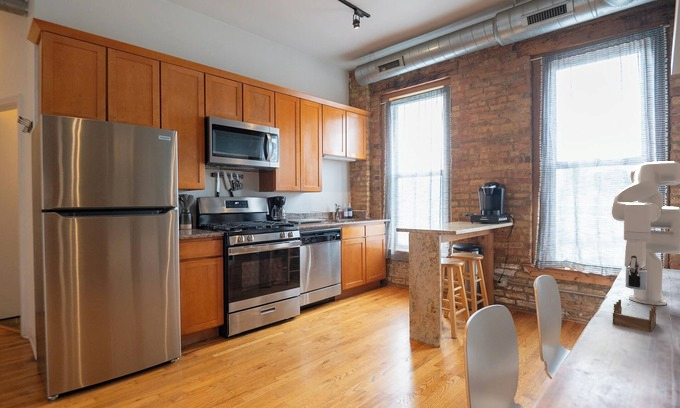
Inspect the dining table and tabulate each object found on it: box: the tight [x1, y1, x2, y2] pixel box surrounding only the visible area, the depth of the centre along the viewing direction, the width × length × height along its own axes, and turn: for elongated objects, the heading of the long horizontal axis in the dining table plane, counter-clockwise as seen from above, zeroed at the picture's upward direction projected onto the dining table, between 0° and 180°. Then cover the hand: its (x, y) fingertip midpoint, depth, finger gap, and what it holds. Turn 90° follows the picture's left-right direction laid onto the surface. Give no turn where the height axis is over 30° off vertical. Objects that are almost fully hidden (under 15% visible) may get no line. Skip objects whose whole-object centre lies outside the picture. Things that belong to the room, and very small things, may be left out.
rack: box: [612, 299, 657, 333], centre depth 129 cm, size 12×11×7 cm
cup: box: [624, 266, 647, 290], centre depth 130 cm, size 6×6×7 cm
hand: (635, 284), depth 131 cm, fingers closed on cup, 6 cm apart
